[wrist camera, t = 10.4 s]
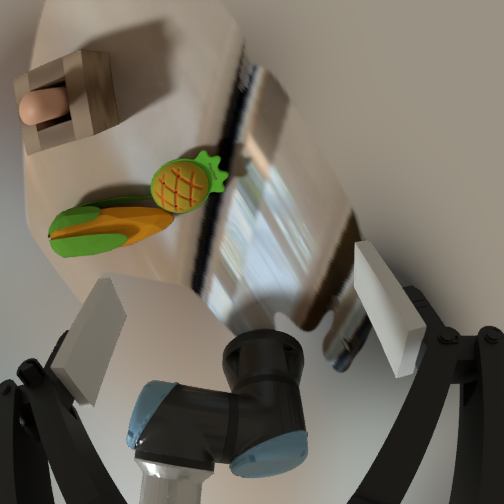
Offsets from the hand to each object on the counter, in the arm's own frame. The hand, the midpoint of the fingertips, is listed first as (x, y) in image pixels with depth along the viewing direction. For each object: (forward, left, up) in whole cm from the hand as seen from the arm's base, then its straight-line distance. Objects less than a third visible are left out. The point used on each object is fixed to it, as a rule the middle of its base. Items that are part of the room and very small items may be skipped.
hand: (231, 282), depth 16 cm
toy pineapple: (-2, +6, -27) cm, 28 cm away
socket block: (+12, +20, -27) cm, 36 cm away
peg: (+12, +20, -27) cm, 35 cm away
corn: (-6, +19, -27) cm, 34 cm away
